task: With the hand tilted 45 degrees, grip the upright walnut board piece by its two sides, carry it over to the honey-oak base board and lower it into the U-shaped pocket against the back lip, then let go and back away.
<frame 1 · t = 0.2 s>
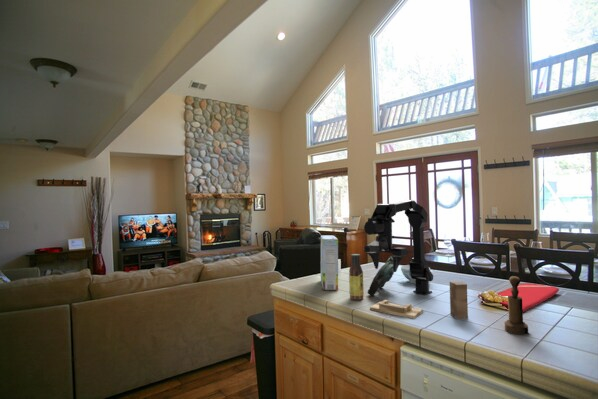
hand: (385, 270, 139), 15 cm above the countertop, tool pointing down, fingers open, 9 cm apart
oak base board: (395, 311, 131), on the countertop
snack box: (329, 285, 175), on the countertop
walnut board piece: (459, 316, 124), on the countertop
chinaware: (415, 282, 178), on the countertop
sauce bottle: (356, 298, 150), on the countertop
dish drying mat: (521, 300, 143), on the countertop
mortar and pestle: (516, 331, 109), on the countertop
teal curved piece: (375, 290, 160), on the countertop
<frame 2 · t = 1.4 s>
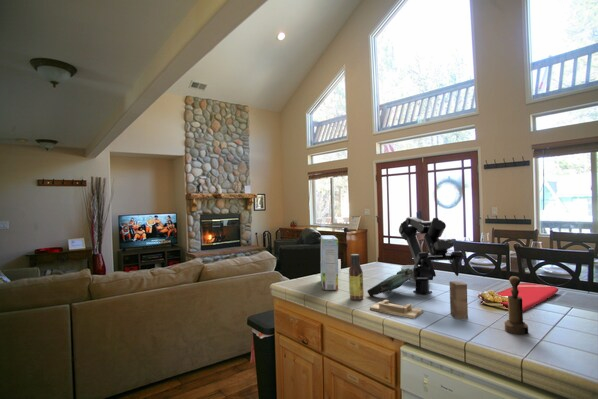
hand: (446, 275, 132), 13 cm above the countertop, tool tilted 45°, fingers open, 9 cm apart
teal curved piece: (376, 289, 159), point 1 cm above the countertop, touching arm
everything else where it was.
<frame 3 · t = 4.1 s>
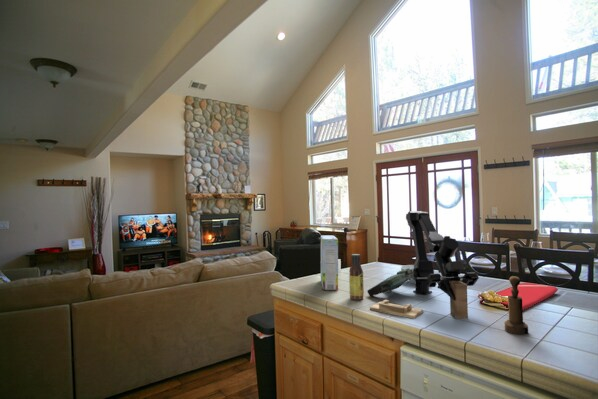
hand: (460, 299, 123), 7 cm above the countertop, tool tilted 45°, fingers closed on walnut board piece, 4 cm apart
walnut board piece: (459, 316, 124), on the countertop, touching gripper
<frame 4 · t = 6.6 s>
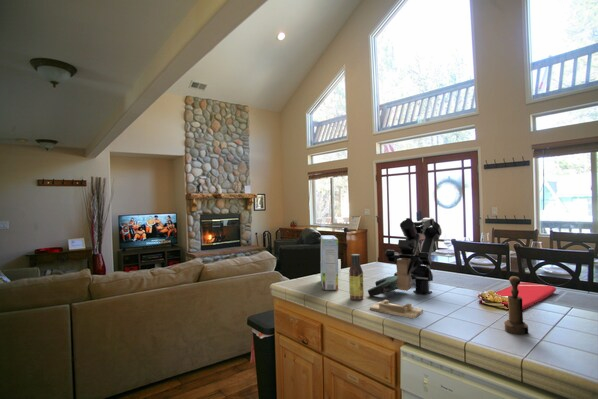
hand: (402, 273, 138), 13 cm above the countertop, tool tilted 45°, fingers closed on walnut board piece, 4 cm apart
walnut board piece: (404, 288, 139), point 7 cm above the countertop, touching gripper
teal curved piece: (373, 289, 160), point 1 cm above the countertop, touching arm
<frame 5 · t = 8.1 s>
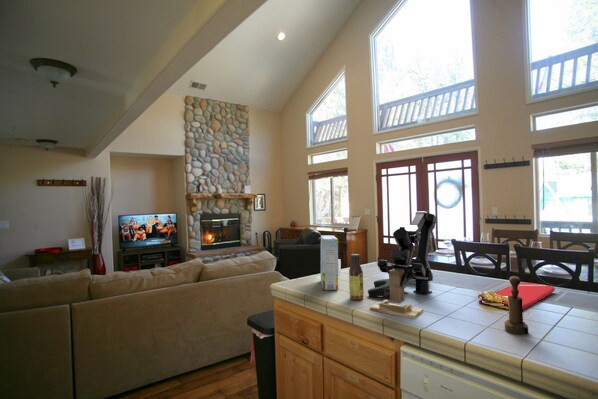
hand: (395, 285, 132), 10 cm above the countertop, tool tilted 45°, fingers closed on walnut board piece, 4 cm apart
walnut board piece: (397, 301, 133), point 3 cm above the countertop, touching gripper
when the fingers open (9 cm above the countertop, at t = 8.7 s): walnut board piece drops 2 cm, resting on oak base board.
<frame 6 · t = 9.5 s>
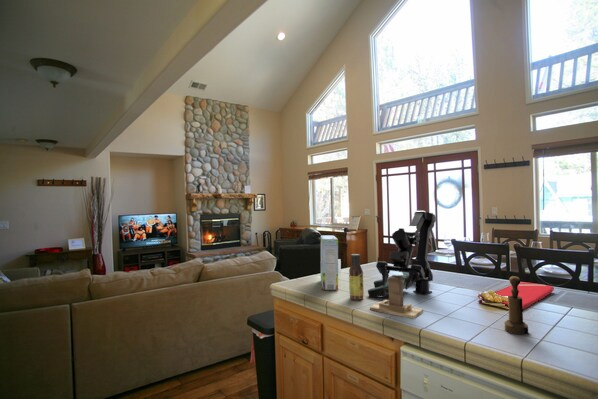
hand: (394, 287, 131), 10 cm above the countertop, tool tilted 45°, fingers open, 9 cm apart
walnut board piece: (396, 308, 132), point 1 cm above the countertop, touching oak base board
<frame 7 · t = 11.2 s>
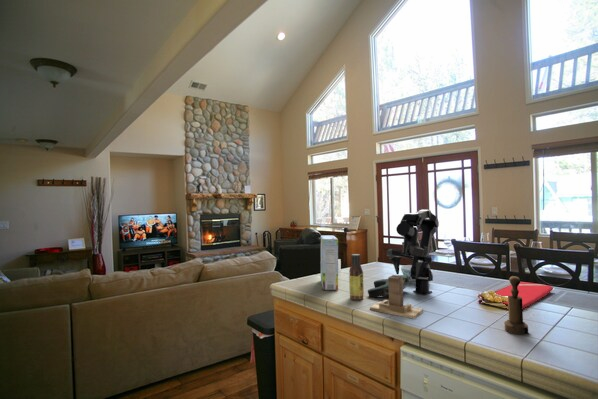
hand: (407, 276, 142), 11 cm above the countertop, tool tilted 20°, fingers open, 9 cm apart
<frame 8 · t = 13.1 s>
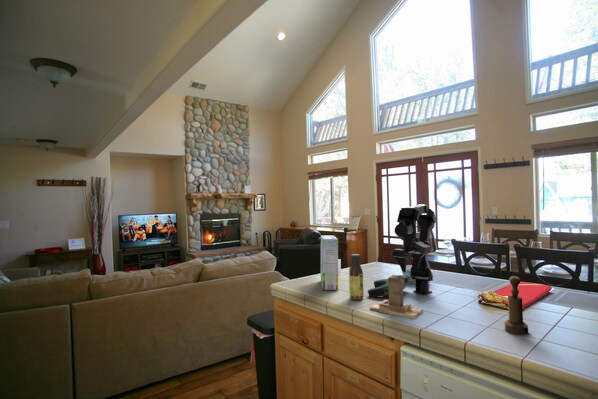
hand: (410, 270, 145), 13 cm above the countertop, tool pointing down, fingers open, 9 cm apart
at the end: walnut board piece 1.0 cm from the oak base board (horizontally); walnut board piece tilted 0°; walnut board piece point 1.0 cm above the countertop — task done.
